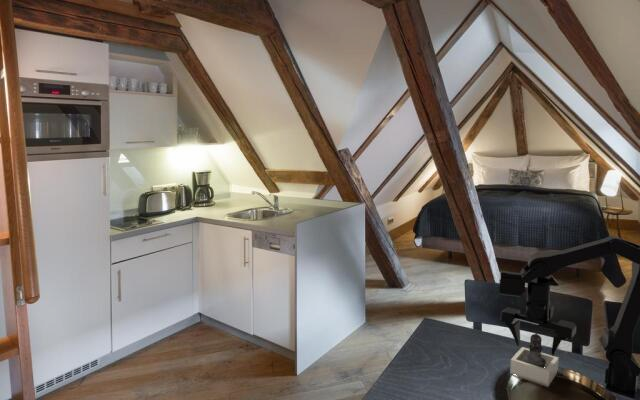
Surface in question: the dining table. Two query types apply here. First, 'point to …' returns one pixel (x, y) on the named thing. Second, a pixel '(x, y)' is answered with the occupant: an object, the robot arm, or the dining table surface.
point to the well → (534, 368)
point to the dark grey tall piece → (535, 352)
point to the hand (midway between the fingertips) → (535, 350)
